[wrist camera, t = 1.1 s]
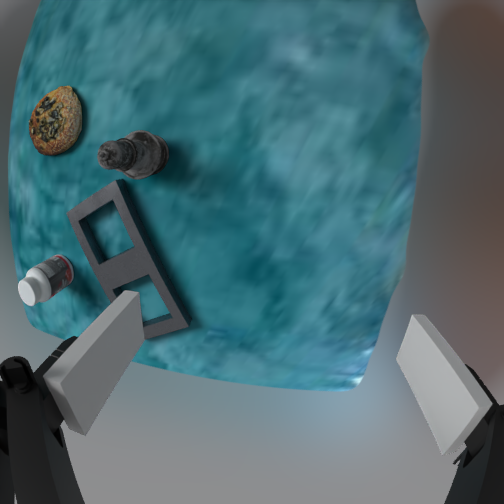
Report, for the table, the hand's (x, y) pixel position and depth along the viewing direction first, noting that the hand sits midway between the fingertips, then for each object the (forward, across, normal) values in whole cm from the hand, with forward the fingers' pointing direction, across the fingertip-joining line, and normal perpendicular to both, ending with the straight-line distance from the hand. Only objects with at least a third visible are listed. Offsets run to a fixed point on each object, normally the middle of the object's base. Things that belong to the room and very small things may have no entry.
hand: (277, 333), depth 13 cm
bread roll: (+24, -33, +14) cm, 43 cm away
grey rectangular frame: (+24, -20, -8) cm, 32 cm away
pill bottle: (+24, -33, -10) cm, 42 cm away
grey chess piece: (+24, -16, +8) cm, 30 cm away
